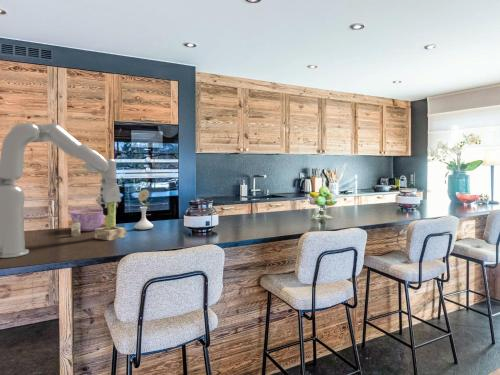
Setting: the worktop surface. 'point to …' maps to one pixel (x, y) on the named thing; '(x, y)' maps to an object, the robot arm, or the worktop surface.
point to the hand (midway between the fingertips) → (110, 214)
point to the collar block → (110, 233)
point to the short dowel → (75, 229)
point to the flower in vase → (143, 212)
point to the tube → (111, 215)
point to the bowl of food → (88, 218)
